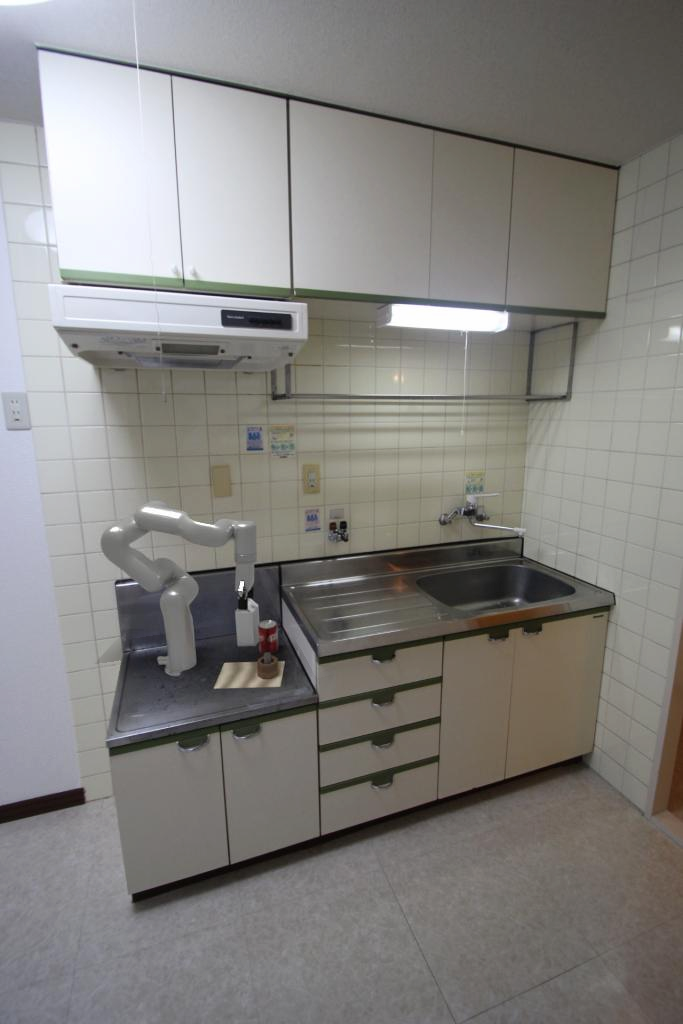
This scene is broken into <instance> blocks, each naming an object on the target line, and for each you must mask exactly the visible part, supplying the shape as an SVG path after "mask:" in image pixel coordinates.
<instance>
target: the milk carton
mask: <svg viewBox="0 0 683 1024" xmlns="http://www.w3.org/2000/svg"><path fill="white" fill-rule="evenodd" d="M259 609H260V608H259V604H258V603H257V602H255V601H254V600H253V598H248V609H247V610H239V609H238V608H237V609H236V610H235V611H234V614H235V615H234V616H235V626H236V627H235V630H236V640H237V641H236V642H237V647H256V646H258V645H259V635H258V625H259V623H261V621H260V610H259Z"/></svg>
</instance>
